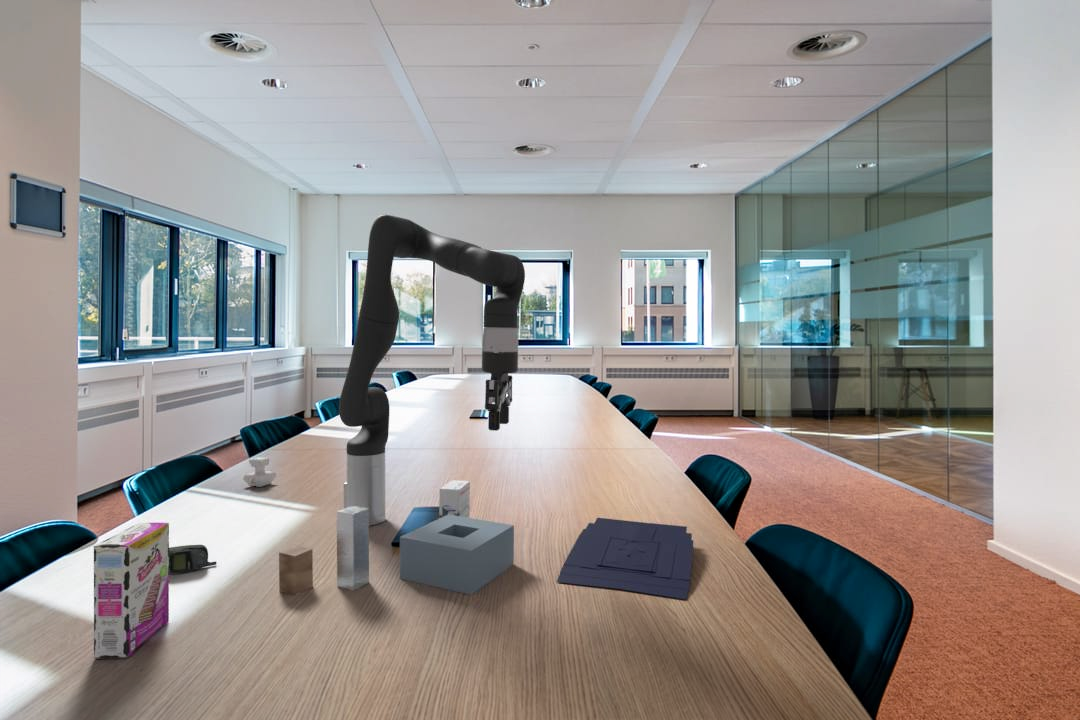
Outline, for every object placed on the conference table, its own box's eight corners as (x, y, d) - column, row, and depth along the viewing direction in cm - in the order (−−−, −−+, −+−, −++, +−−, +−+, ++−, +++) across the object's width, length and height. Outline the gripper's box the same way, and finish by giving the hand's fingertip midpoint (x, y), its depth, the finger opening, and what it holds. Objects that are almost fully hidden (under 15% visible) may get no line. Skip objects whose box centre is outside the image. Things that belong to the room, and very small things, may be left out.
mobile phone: (122, 557, 110) (214, 544, 116) (125, 552, 113) (215, 539, 119) (123, 583, 110) (215, 568, 116) (127, 577, 113) (216, 563, 119)
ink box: (451, 527, 143) (451, 479, 143) (470, 529, 142) (471, 480, 142) (437, 539, 135) (437, 488, 134) (458, 541, 134) (459, 489, 133)
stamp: (259, 490, 176) (258, 462, 176) (240, 488, 178) (239, 460, 177) (279, 482, 185) (279, 456, 184) (261, 481, 186) (260, 454, 186)
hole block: (399, 578, 113) (399, 536, 112) (448, 551, 127) (448, 514, 127) (471, 594, 106) (471, 550, 105) (513, 564, 120) (513, 525, 120)
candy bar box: (129, 659, 84) (127, 545, 83) (92, 660, 84) (90, 546, 83) (172, 621, 95) (170, 520, 95) (139, 622, 95) (137, 521, 94)
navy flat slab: (695, 539, 133) (695, 523, 132) (687, 614, 104) (687, 594, 104) (589, 527, 140) (589, 513, 139) (555, 595, 112) (554, 577, 111)
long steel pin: (337, 586, 109) (336, 511, 108) (352, 578, 113) (352, 505, 112) (353, 590, 107) (353, 514, 107) (369, 582, 111) (368, 508, 110)
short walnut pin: (279, 590, 107) (278, 552, 107) (297, 582, 111) (296, 545, 110) (295, 594, 105) (294, 556, 105) (312, 586, 109) (312, 548, 109)
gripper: (490, 348, 131) (489, 421, 132) (473, 350, 117) (472, 431, 118) (524, 349, 130) (522, 422, 130) (510, 351, 116) (509, 433, 116)
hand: (498, 426), depth 124 cm, fingers open, 8 cm apart
